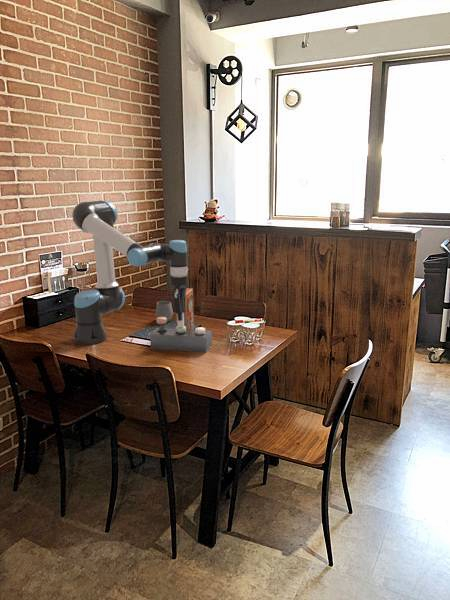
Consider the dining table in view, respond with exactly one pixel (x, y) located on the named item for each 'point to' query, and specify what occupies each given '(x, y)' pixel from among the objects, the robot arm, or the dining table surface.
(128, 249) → the robot arm
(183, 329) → the knob mid
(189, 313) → the orange cardboard box
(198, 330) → the knob
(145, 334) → the dining table surface
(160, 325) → the knob
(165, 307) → the cup
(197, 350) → the mount
